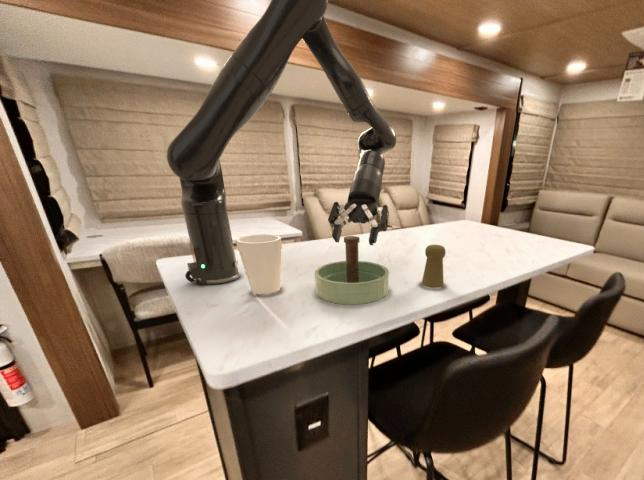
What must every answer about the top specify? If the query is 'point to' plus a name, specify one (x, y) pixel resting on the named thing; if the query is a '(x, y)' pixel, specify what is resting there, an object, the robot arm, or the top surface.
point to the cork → (434, 266)
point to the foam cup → (261, 261)
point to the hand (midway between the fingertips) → (353, 242)
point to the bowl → (365, 291)
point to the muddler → (352, 259)
